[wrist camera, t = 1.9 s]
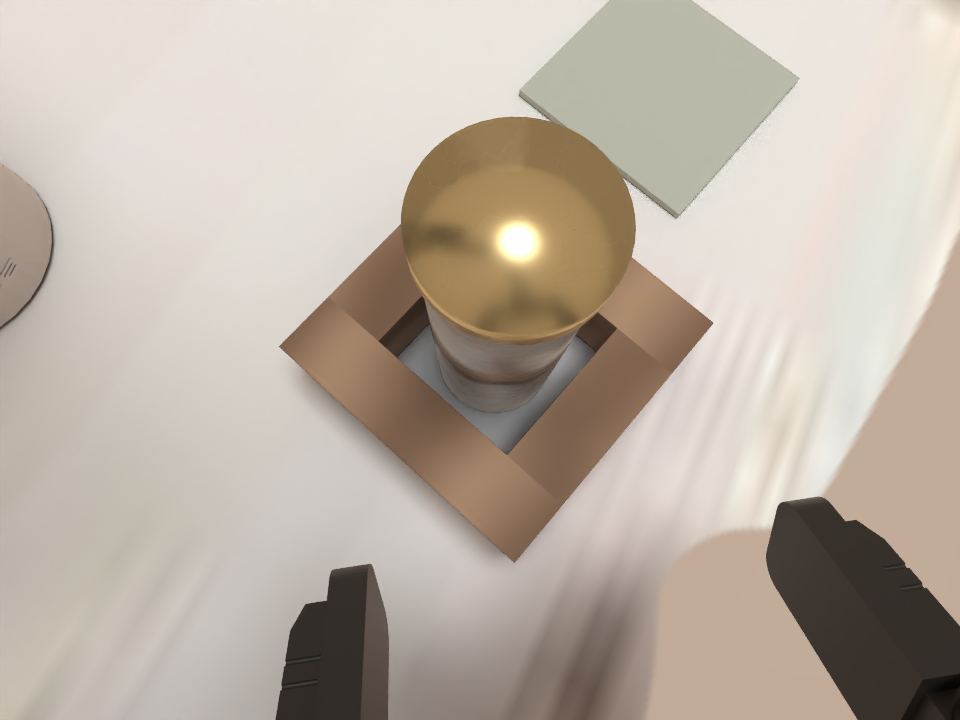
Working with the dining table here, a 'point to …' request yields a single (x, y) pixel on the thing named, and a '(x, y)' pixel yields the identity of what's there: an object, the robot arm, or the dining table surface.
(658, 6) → the pad
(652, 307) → the housing
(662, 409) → the dining table surface
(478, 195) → the grey upright cylinder
